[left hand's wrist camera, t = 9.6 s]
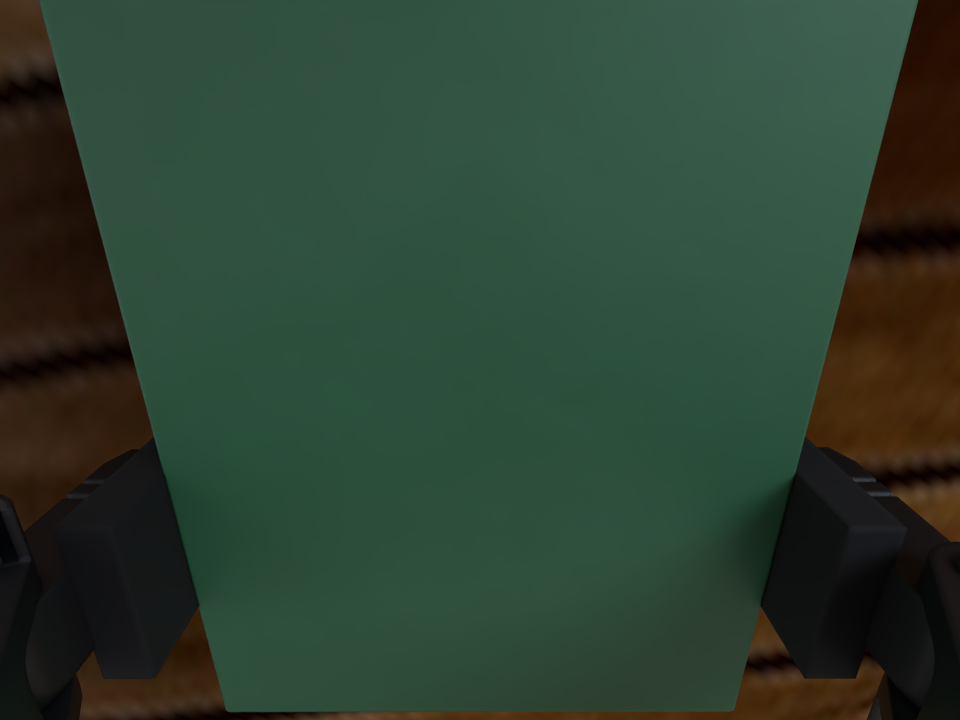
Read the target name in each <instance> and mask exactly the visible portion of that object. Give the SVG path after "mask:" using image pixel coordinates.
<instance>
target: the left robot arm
mask: <svg viewBox="0 0 960 720" xmlns="http://www.w3.org/2000/svg"><path fill="white" fill-rule="evenodd" d="M892 494H893V493H892V492H891V491H890V490H889V489H887V488H886V487H885V486H884V485H883V484H882V483H880V482H876V478H874V477H873V476H872V475H871V474H870V473H868V472H867V471H866V470H865V469H864V468H863V467H861V466H860V465H859V464H858V463H857V462H855V461H853V460H851V459H849V458H848V457H846V456H844V455H842V454H840V453H838V452H836V451H834V450H832V449H830V448H828V447H816V446H815V445H814V444H813V443H812V442H811V441H809V440H808V439H807V438H806V437H805V438H804V442H803V446H802V449H801V453H800V457H799V461H798V465H797V469H796V473H795V476H794V480H793V484H792V488H791V492H790V496H789V500H788V503H787V507H786V511H785V515H784V519H783V523H782V527H781V530H780V534H779V538H778V542H777V546H776V550H775V553H774V557H773V561H772V565H771V569H770V573H769V577H768V580H767V584H766V588H765V592H764V596H763V600H762V604H761V607H762V609H763V611H764V612H765V614H766V615H767V617H768V619H769V620H770V622H771V624H772V625H773V627H774V629H775V630H776V632H777V634H778V635H779V637H780V639H781V640H782V642H783V643H784V645H785V647H786V648H787V650H788V652H789V653H790V655H791V657H792V658H793V660H794V662H795V663H796V665H797V666H798V668H799V670H800V671H801V673H802V675H803V676H804V678H850V679H856V676H857V673H858V670H859V667H860V664H861V661H862V659H863V656H864V653H865V650H866V648H867V649H868V650H869V652H870V653H871V654H872V656H873V657H874V658H875V659H876V661H877V662H878V663H879V665H880V666H881V667H882V669H883V670H884V671H885V672H884V675H883V677H882V680H881V683H880V686H879V688H878V691H877V694H876V696H875V699H874V702H873V704H872V707H871V710H870V713H869V715H868V718H867V720H960V542H950V541H949V540H948V539H947V538H945V537H944V536H943V535H942V534H941V533H939V532H938V531H937V530H936V529H935V528H934V527H932V526H931V525H930V524H929V523H928V522H926V521H925V520H924V519H923V518H922V517H921V516H919V515H918V514H917V513H916V512H915V511H913V510H912V509H911V508H910V507H909V506H908V505H906V504H905V503H904V502H903V501H902V500H900V499H899V498H898V497H893V495H892ZM67 496H68V497H67V499H62V500H61V501H60V502H59V503H57V504H56V505H55V506H54V507H53V508H52V509H50V510H49V511H48V512H47V513H46V514H45V515H43V516H42V517H41V518H40V519H39V520H37V521H36V522H35V523H34V524H33V525H32V526H30V527H29V528H28V529H27V530H26V531H25V532H23V529H22V526H21V524H20V521H19V518H18V516H17V513H16V510H15V508H14V505H13V502H12V500H11V499H9V498H7V497H5V496H4V495H1V494H0V720H79V716H80V708H81V701H82V692H81V687H80V683H79V680H78V677H77V675H76V672H77V671H78V670H79V668H80V667H81V666H82V664H83V663H84V662H85V661H86V659H87V658H88V657H89V655H90V654H91V653H92V651H93V650H94V652H95V655H96V658H97V661H98V663H99V666H100V669H101V672H102V675H103V678H104V679H155V677H156V675H157V674H158V672H159V671H160V669H161V667H162V666H163V664H164V662H165V661H166V659H167V657H168V656H169V654H170V652H171V651H172V649H173V648H174V646H175V644H176V643H177V641H178V639H179V638H180V636H181V634H182V633H183V631H184V629H185V628H186V626H187V624H188V623H189V621H190V620H191V618H192V616H193V615H194V613H195V611H196V610H197V608H198V606H199V605H198V602H197V598H196V594H195V590H194V586H193V583H192V579H191V575H190V571H189V567H188V564H187V560H186V556H185V552H184V548H183V545H182V541H181V537H180V533H179V530H178V526H177V522H176V518H175V514H174V511H173V507H172V503H171V499H170V495H169V492H168V488H167V484H166V480H165V476H164V473H163V469H162V465H161V461H160V458H159V454H158V450H157V446H156V442H155V439H154V437H153V438H152V439H151V440H150V441H149V442H148V443H147V444H146V445H144V446H143V447H142V448H141V449H132V450H130V451H128V452H126V453H124V454H122V455H120V456H118V457H116V458H114V459H112V460H110V461H109V462H107V463H105V464H103V465H102V466H101V467H100V468H99V469H97V470H96V471H95V472H94V473H93V474H92V475H90V476H89V477H88V478H87V479H86V480H84V484H80V485H79V486H77V487H76V488H75V489H74V490H73V491H72V492H70V493H69V494H68V495H67Z"/></svg>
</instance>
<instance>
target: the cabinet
mask: <svg viewBox="0 0 960 720" xmlns="http://www.w3.org/2000/svg"><path fill="white" fill-rule="evenodd" d="M39 3H40V7H41V10H42V14H43V18H44V22H45V26H46V29H47V33H48V37H49V41H50V45H51V48H52V52H53V56H54V60H55V63H56V67H57V71H58V75H59V79H60V82H61V86H62V90H63V94H64V98H65V101H66V105H67V109H68V113H69V117H70V120H71V124H72V128H73V132H74V135H75V139H76V143H77V147H78V151H79V154H80V158H81V162H82V166H83V170H84V173H85V177H86V181H87V185H88V189H89V192H90V196H91V200H92V204H93V207H94V211H95V215H96V219H97V223H98V226H99V230H100V234H101V238H102V242H103V245H104V249H105V253H106V257H107V260H108V264H109V268H110V272H111V276H112V279H113V283H114V287H115V291H116V295H117V298H118V302H119V306H120V310H121V314H122V317H123V321H124V325H125V329H126V332H127V336H128V340H129V344H130V348H131V351H132V355H133V359H134V363H135V367H136V370H137V374H138V378H139V382H140V386H141V389H142V393H143V397H144V401H145V404H146V408H147V412H148V416H149V420H150V423H151V427H152V431H153V435H154V439H155V442H156V446H157V450H158V454H159V458H160V461H161V465H162V469H163V473H164V476H165V480H166V484H167V488H168V492H169V495H170V499H171V503H172V507H173V511H174V514H175V518H176V522H177V526H178V530H179V533H180V537H181V541H182V545H183V548H184V552H185V556H186V560H187V564H188V567H189V571H190V575H191V579H192V583H193V586H194V590H195V594H196V598H197V602H198V605H199V609H200V613H201V617H202V620H203V624H204V628H205V632H206V636H207V639H208V643H209V647H210V651H211V655H212V658H213V662H214V666H215V670H216V674H217V677H218V681H219V685H220V689H221V692H222V696H223V700H224V704H225V708H226V710H227V711H229V712H693V711H733V710H734V708H735V704H736V700H737V696H738V692H739V688H740V684H741V681H742V677H743V673H744V669H745V665H746V661H747V657H748V654H749V650H750V646H751V642H752V638H753V634H754V631H755V627H756V623H757V619H758V615H759V611H760V607H761V604H762V600H763V596H764V592H765V588H766V584H767V580H768V577H769V573H770V569H771V565H772V561H773V557H774V553H775V550H776V546H777V542H778V538H779V534H780V530H781V527H782V523H783V519H784V515H785V511H786V507H787V503H788V500H789V496H790V492H791V488H792V484H793V480H794V476H795V473H796V469H797V465H798V461H799V457H800V453H801V449H802V446H803V442H804V438H805V434H806V430H807V426H808V423H809V419H810V415H811V411H812V407H813V403H814V399H815V396H816V392H817V388H818V384H819V380H820V376H821V372H822V369H823V365H824V361H825V357H826V353H827V349H828V346H829V342H830V338H831V334H832V330H833V326H834V322H835V319H836V315H837V311H838V307H839V303H840V299H841V295H842V292H843V288H844V284H845V280H846V276H847V272H848V268H849V265H850V261H851V257H852V253H853V249H854V245H855V242H856V238H857V234H858V230H859V226H860V222H861V218H862V215H863V211H864V207H865V203H866V199H867V195H868V191H869V188H870V184H871V180H872V176H873V172H874V168H875V164H876V161H877V157H878V153H879V149H880V145H881V141H882V138H883V134H884V130H885V126H886V122H887V118H888V114H889V111H890V107H891V103H892V99H893V95H894V91H895V87H896V84H897V80H898V76H899V72H900V68H901V64H902V60H903V57H904V53H905V49H906V45H907V41H908V37H909V34H910V30H911V26H912V22H913V18H914V14H915V10H916V7H917V3H918V0H39Z"/></svg>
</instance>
